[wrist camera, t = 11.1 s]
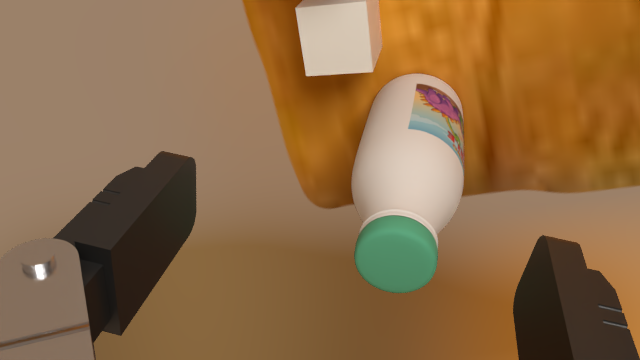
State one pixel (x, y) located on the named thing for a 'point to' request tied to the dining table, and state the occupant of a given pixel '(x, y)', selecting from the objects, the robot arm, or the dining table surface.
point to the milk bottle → (407, 180)
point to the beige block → (339, 36)
